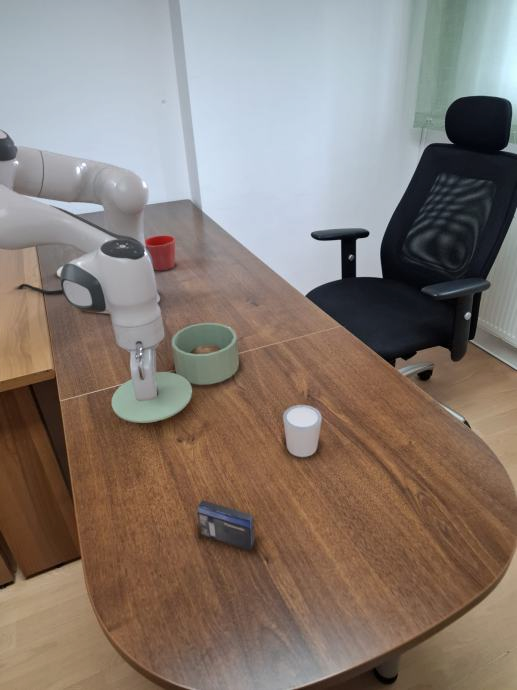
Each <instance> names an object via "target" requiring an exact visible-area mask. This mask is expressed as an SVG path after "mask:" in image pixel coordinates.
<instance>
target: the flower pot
mask: <svg viewBox="0 0 517 690" xmlns="http://www.w3.org/2000/svg"><path fill="white" fill-rule="evenodd" d="M145 244H146V248H147V250H148V251H149V253H150V255H151V257H152V261H153V270H154V271H158V272H159V271H160V272H163V271H167V270H168V271H169V270H170V269H173V268H174V267H175V262H176V261H175V260H176V239H175V237H174V236H172V235H155V236H151V237H149V238H145Z"/></svg>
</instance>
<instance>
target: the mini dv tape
mask: <svg viewBox="0 0 517 690" xmlns="http://www.w3.org/2000/svg"><path fill="white" fill-rule="evenodd" d="M254 516H255V515H254V514H250V513H247V512H245V511H241V510H238V509H234V508H231V507H228V506H223V505H220V504H218V503H214V502H210V501H206V500H204V499H201V500H200V502H199V503H198V506H197V518H198V525H199V531H200V535H202V536H204V537H207V538H210V539H213V540H217V541H220V542H223V543H226V544H228V545H232V546H235V547H238V548H240V549H241V548H242V549H244V550H247V551H253V547H254V546H255V543H256V531H255V530H256V529H255V517H254Z"/></svg>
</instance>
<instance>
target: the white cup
mask: <svg viewBox="0 0 517 690" xmlns="http://www.w3.org/2000/svg"><path fill="white" fill-rule="evenodd" d="M282 418H283V419H282V420H283V427H284V434H285V443H286V449H287V451H288V452H289V454H291V455H293V456H295V457H299V458H306V457H309V456H312V455H313V454H315V453H316V452H317V449H318V445H319V439H320V434H321V427H322V421H323V416H322V413H321V412H320V411H319V410H318V409H317V408H316V407H314V406H311V405H306V404H296V405H293V406H290V407H288V408H286V410H285V411H284V413H283V414H282Z"/></svg>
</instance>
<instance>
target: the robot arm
mask: <svg viewBox="0 0 517 690" xmlns="http://www.w3.org/2000/svg"><path fill="white" fill-rule="evenodd" d="M149 195H150V192H149V187H148V185H147V183H146V182H145V181H144V180H143V179H142V177H140V176H139V175H138V174H137V173H136V172H134V171H133V170H130V169H127V168H125V167H121V166H118V165H114V164H111V163H107V162H102V161H98V160H93V159H87V158H82V157H76V156H72V155H68V154H67V155H66V154H63V153H57V152H53V151H49V150H43V149H39V148H35V147H27V146H22V145H15V142H14V139H12V137H10V135H9V134H8V133H7V132H6V131H4V130H3V129H1V128H0V250H6V251H18V250H19V251H20V250H25V249H30V248H34V247H35V248H36V247H42V246H52V245H62V246H68V247H70V248H71V247H72V248H74V249H76V250H78V251H80V252H82V253H84V254H83V255H80V256H79V257H76V258H74V259H72V260H70V261H69V262H67V263H65V264H64V265H63V268H62V271H61V275H60V277H59V280H60V281H59V283H60V287H61V289H58V290H45V289H42V288H39V287H37V286H33V285H31V284H27V283H21V284H20V285H19V286H18V289H19V290H20V289H23V288H28V289H30V290H33V291H37V292H39V293H41V294H46V295H55V294H56V295H57V294H63V295H64V297H65V300H66V301H67V302H68V303H69V304H70V305H71V306H73V307H75V308H77V309H78V310H81V311H84V312H88V313H99V314H106V315H110V322H111V325H112V330H113V334H114V338H115V342H116V345H117V346H118V347H119V348H122V349H124V350H125V351H126V352H128V353H129V354H130V357H129V368H130V376H131V379H132V383H133V388H134V393H135V397H136V399H137V400H138V401H146V400H152V399H155V398H156V397H157V372H158V371H157V348H158V347H159V346H160V342H162V341H163V340H164V338H165V336H166V334H165V327H164V321H163V315H162V309H161V307H160V305H159V303H160V300H161V296H160V294H159V291H158V286H157V279H156V274H155V270H154V269H153V261H152V257H151V255H150V253H149V251H148V250H147V248H146V244H145V240H146V238H145V231H144V217H145V207H146V206H147V204H148V202H149V198H150V196H149ZM29 197H31V198H29ZM32 198H36V199H45V200H49V201H57V202H63V203H69V204H70V203H81V204H82V203H83V204H93V205H99V206H102V208H103V212H104V213H103V214H104V227H101V226H99V225H98V224H95V223H93V222H91V221H89V220H87V219H85V218H83V217H81V216H79V215H77V214H74V213H73V212H70V211H68V210H67V209H63V208H60V207H57V206H55V205H51V204H48V203H43V202H40V201H38V200H35V199H32Z"/></svg>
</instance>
